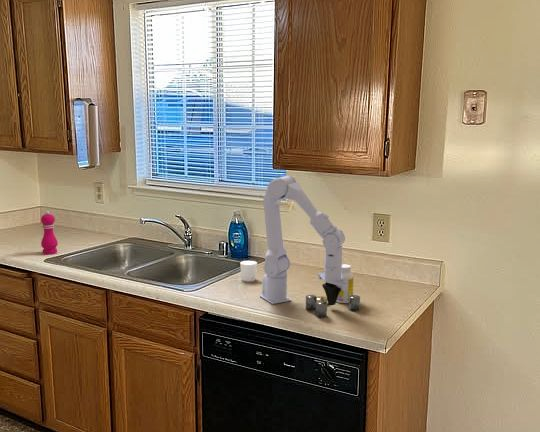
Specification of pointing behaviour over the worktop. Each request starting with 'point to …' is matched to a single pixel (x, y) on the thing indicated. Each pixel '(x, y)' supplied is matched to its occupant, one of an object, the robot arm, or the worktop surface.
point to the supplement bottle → (348, 279)
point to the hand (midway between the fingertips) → (331, 304)
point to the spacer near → (311, 302)
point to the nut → (321, 298)
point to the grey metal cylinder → (354, 303)
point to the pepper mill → (48, 234)
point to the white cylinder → (248, 270)
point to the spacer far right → (321, 309)
